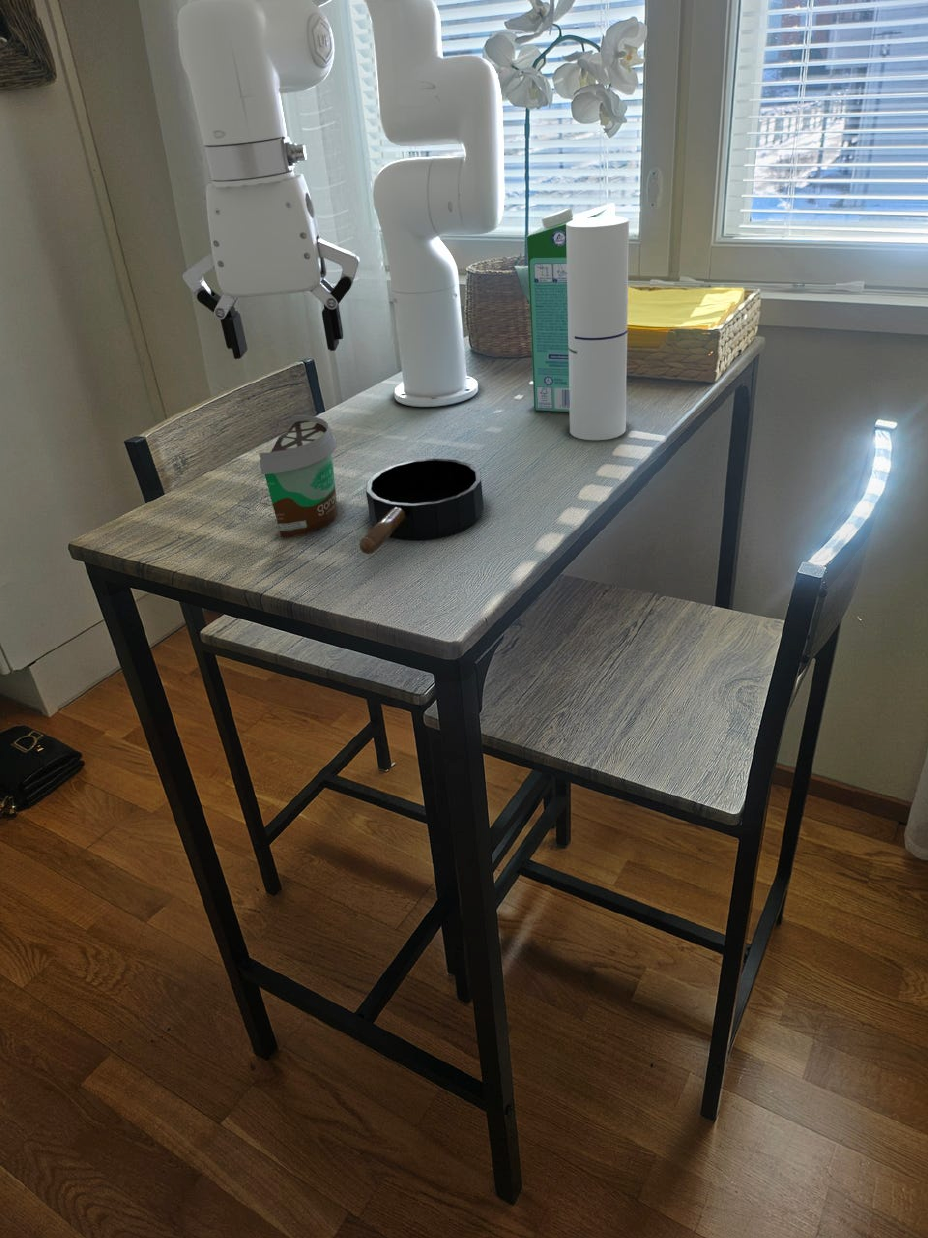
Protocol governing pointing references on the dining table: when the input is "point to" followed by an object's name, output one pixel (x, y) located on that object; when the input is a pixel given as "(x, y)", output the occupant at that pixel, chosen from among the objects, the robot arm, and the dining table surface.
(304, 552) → the dining table surface
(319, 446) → the food container
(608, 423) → the cylindrical container
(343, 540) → the dining table surface
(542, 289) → the milk carton
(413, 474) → the pan
